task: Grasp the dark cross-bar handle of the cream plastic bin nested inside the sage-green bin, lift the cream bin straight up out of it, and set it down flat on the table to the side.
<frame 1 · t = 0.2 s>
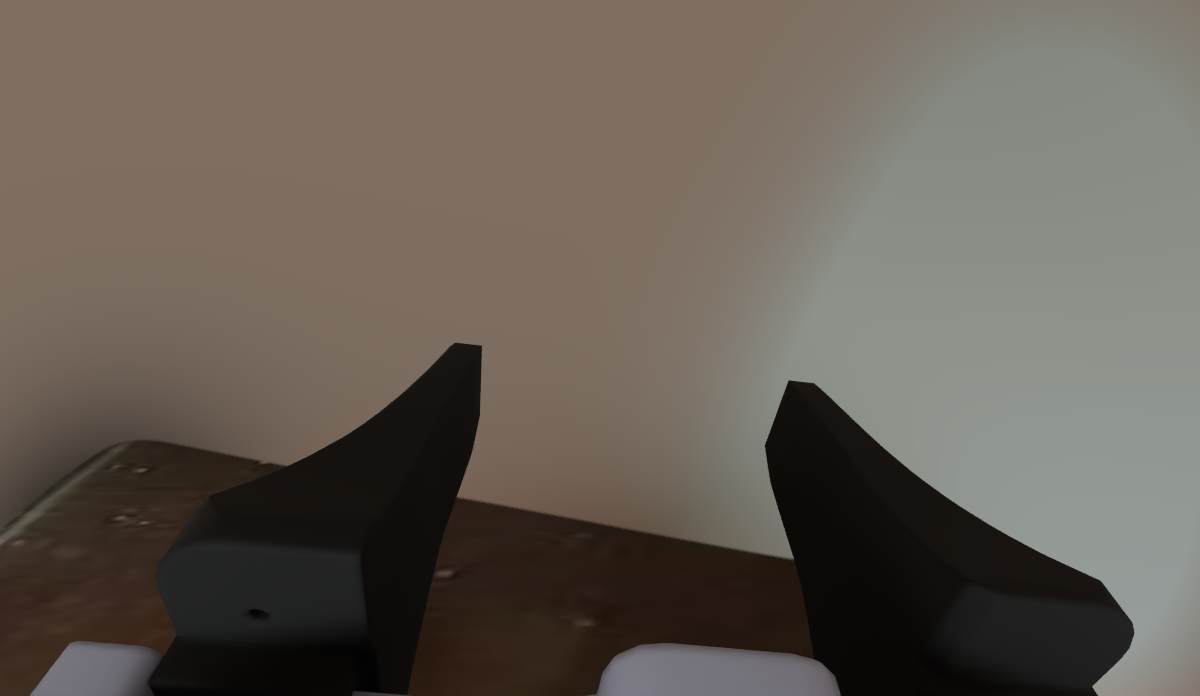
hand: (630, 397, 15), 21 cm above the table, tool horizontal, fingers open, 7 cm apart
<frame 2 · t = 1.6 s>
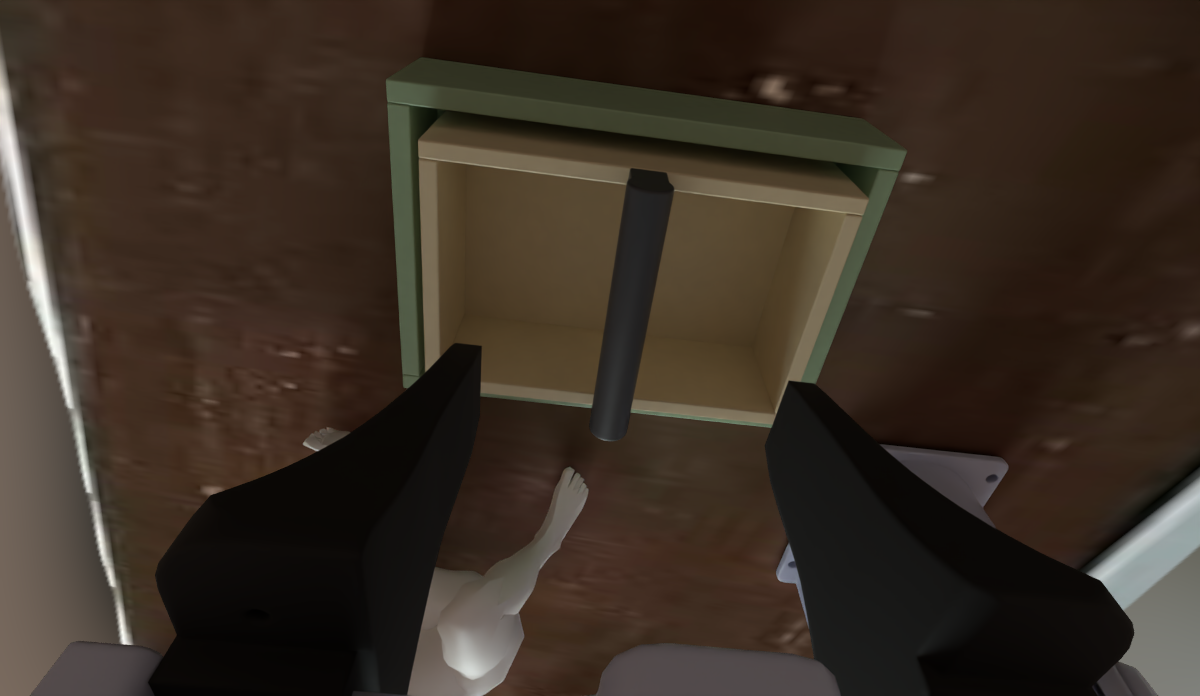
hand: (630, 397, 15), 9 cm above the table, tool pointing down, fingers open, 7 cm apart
sage bin: (623, 237, 23), on the table
cream bin: (623, 242, 22), resting on sage bin
person figurine: (427, 555, 33), on the table
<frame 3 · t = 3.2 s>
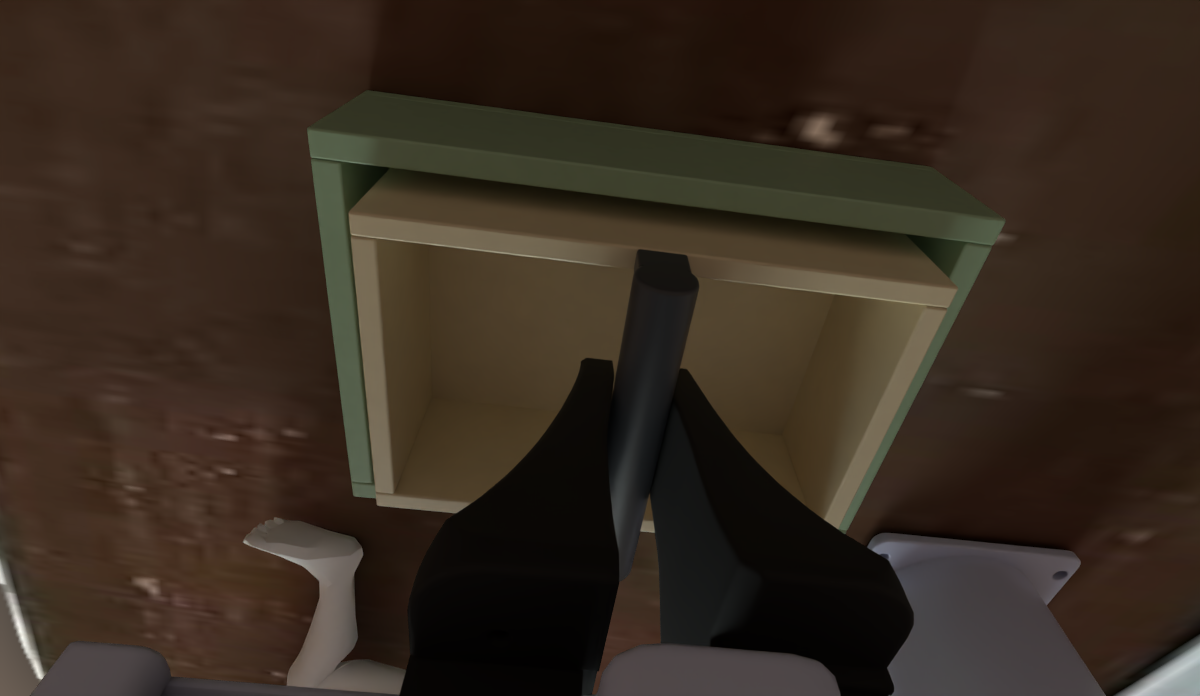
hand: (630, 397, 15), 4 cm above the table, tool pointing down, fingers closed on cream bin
sage bin: (626, 307, 18), on the table
cream bin: (626, 313, 18), resting on sage bin, touching gripper
person figurine: (399, 648, 28), on the table
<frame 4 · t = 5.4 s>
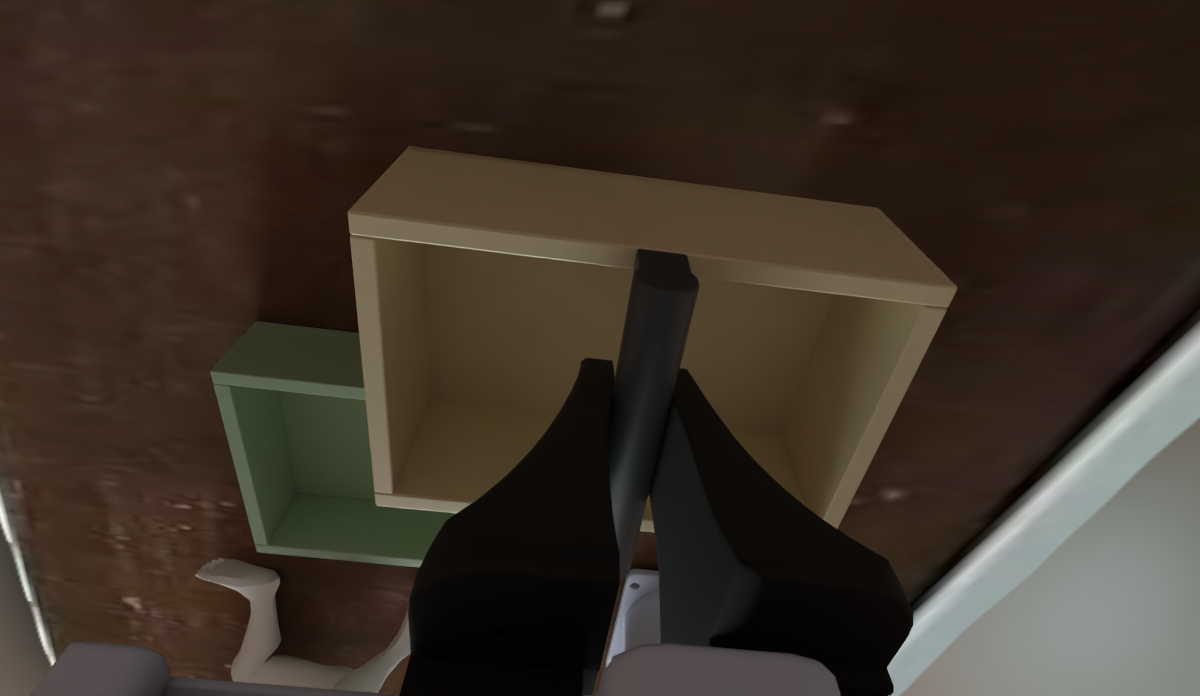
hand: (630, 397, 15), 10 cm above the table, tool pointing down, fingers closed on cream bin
sage bin: (431, 432, 29), on the table
cream bin: (625, 313, 18), point 7 cm above the table, touching gripper
person figurine: (316, 647, 39), on the table
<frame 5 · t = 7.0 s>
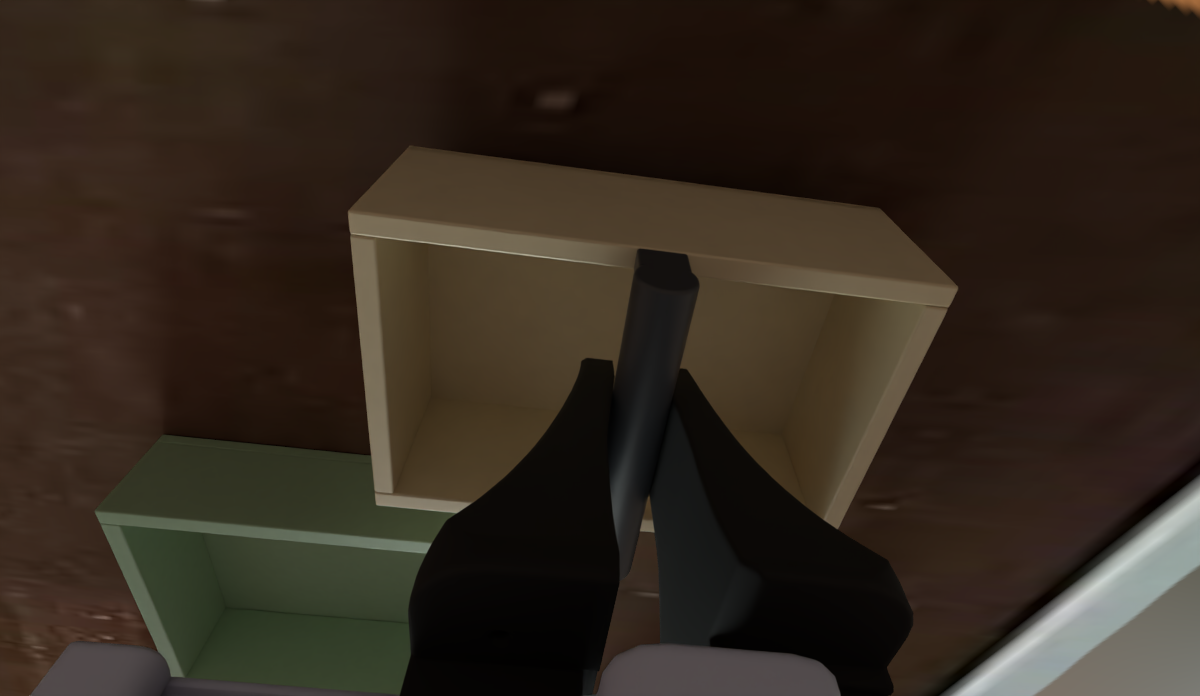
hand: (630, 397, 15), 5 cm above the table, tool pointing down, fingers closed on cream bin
sage bin: (373, 545, 26), on the table
cream bin: (626, 313, 18), point 1 cm above the table, touching gripper
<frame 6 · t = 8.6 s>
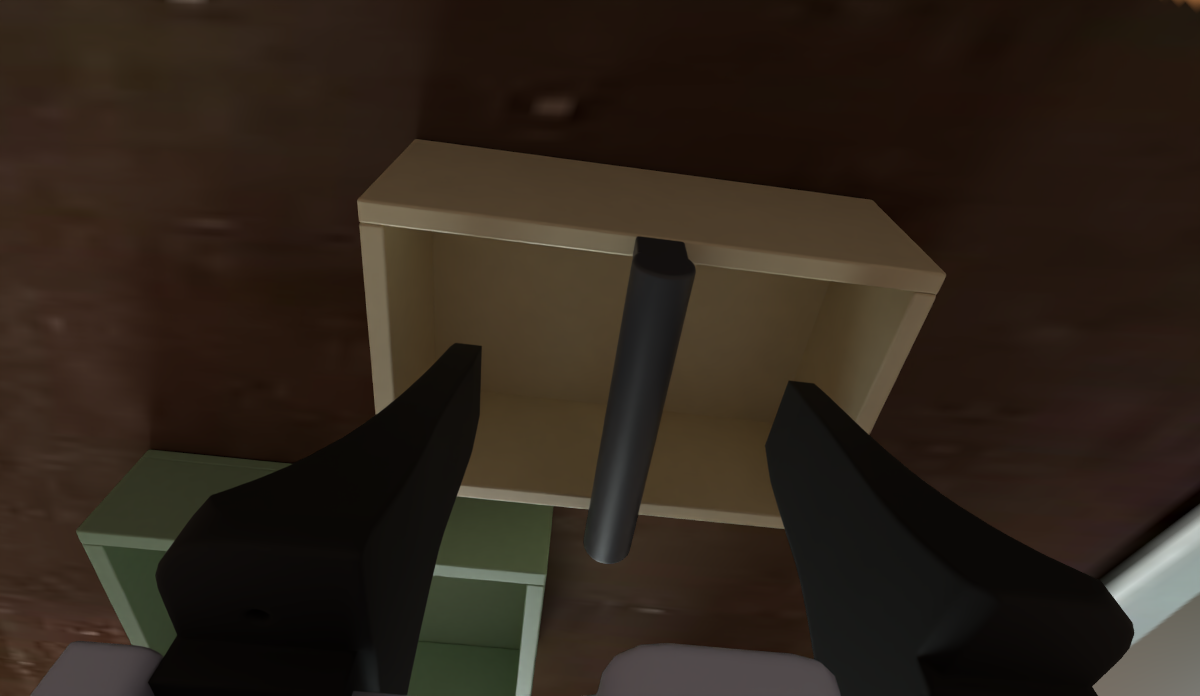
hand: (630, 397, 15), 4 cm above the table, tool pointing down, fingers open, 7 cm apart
sage bin: (366, 561, 25), on the table
cream bin: (625, 303, 18), on the table
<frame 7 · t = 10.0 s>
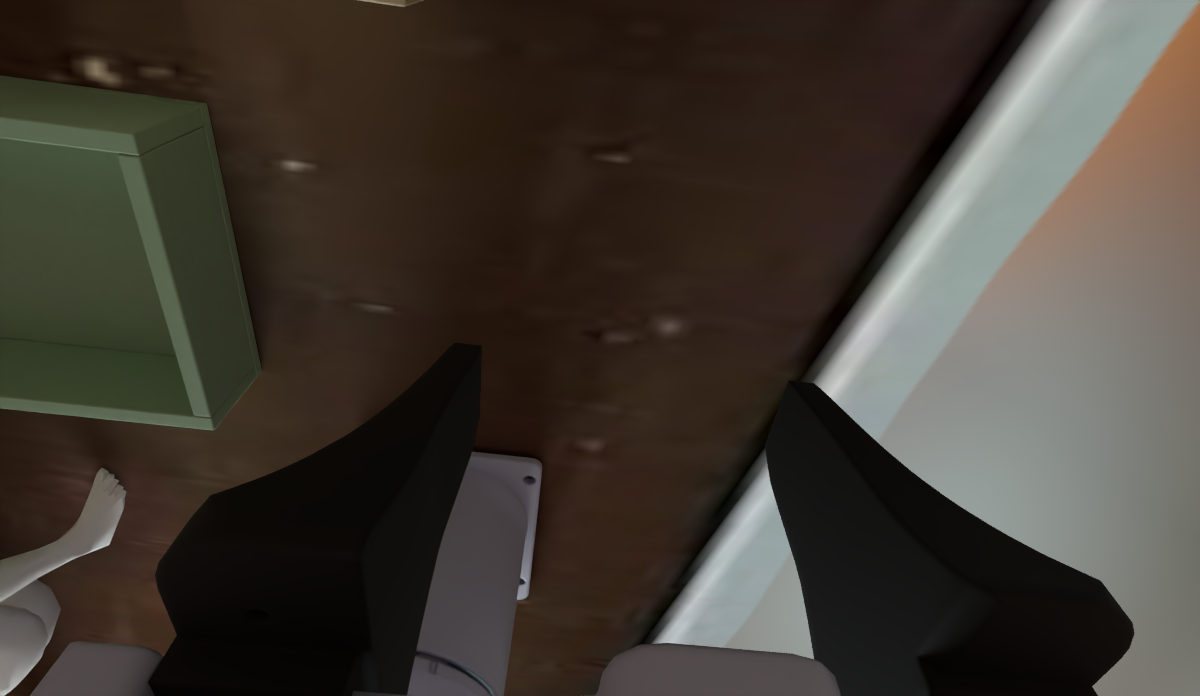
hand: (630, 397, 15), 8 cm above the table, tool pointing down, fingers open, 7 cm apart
sage bin: (26, 228, 22), on the table
person figurine: (14, 559, 32), on the table
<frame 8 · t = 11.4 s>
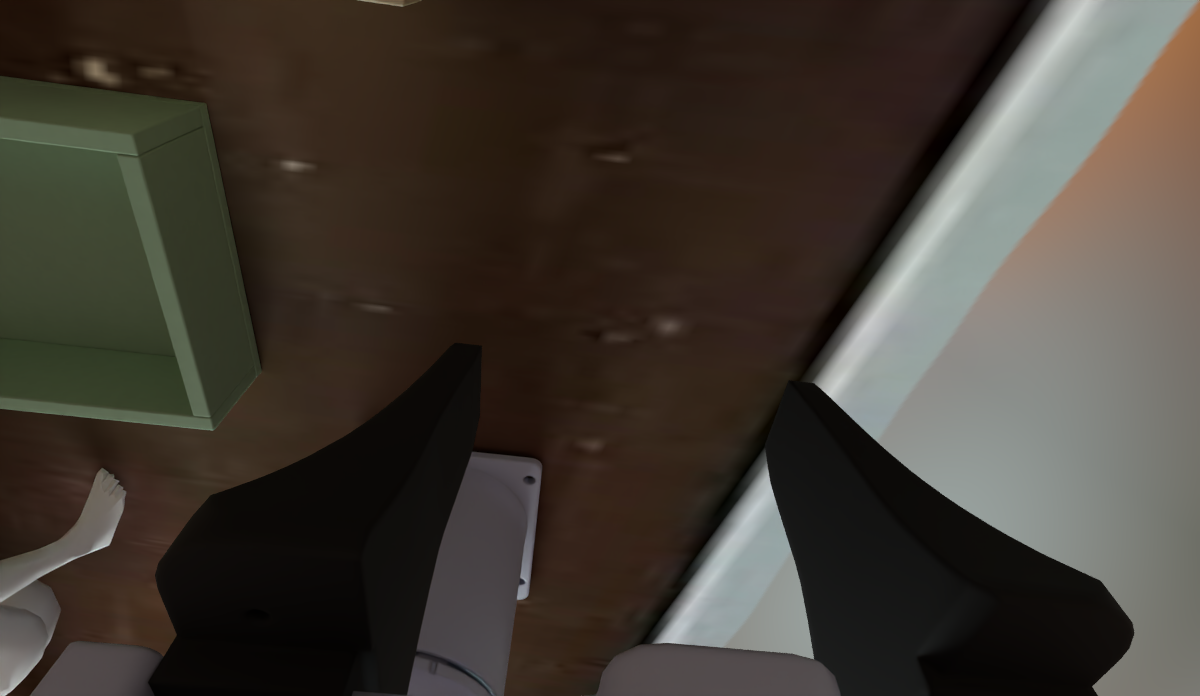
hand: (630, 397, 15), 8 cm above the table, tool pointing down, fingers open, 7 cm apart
sage bin: (26, 228, 22), on the table
person figurine: (14, 559, 32), on the table
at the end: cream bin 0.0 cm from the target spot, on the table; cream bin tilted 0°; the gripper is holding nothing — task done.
